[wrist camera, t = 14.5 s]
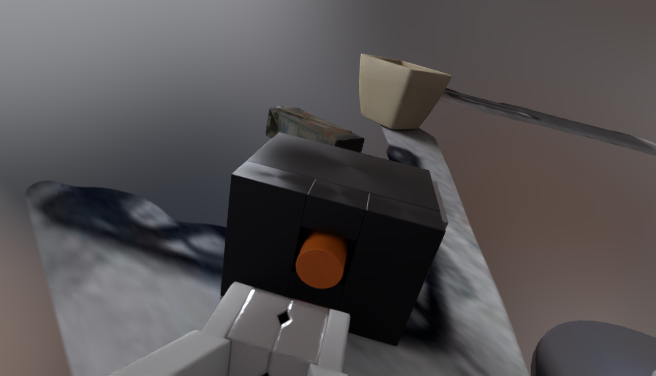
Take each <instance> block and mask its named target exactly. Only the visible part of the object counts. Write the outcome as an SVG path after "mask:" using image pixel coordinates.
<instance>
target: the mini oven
mask: <svg viewBox="0 0 656 376" xmlns="http://www.w3.org/2000/svg"><path fill="white" fill-rule="evenodd" d="M447 225H448V220H447V216H446V213H445V210H444V206H443V203H442V200H441V196H440V193H439V190H438V186H437V183H436V182H434V181H432V179H431V175H430V172H429V170H425V169H421V168H418V167H414V166H410V165H406V164H402V163H398V162H394V161H390V160H386V159H382V158H378V157H374V156H371V155H366V154H363V153H359V152H355V151H351V150H347V149H343V148H339V147H335V146H331V145H328V144H324V143H320V142H316V141H312V140H308V139H304V138H300V137H296V136H292V135H288V134H285V133H281V132H279V133H278V134H277V135H275V136H274V137H273V138H272V139H271V140H270V141H269V142H268V143H266V144H265V145H264V146H263V147H262V148H261V149H260V150H258V151H257V152H256V153H255V154H254V155H253V156H252V157H251V158H250V159H248V160H247V161H246V162H245V163H244V164H243V165H241V166H240V167H239V168H238V169H237V170H236V171H235V172H234V173H232V176H231V186H230V196H229V208H228V218H227V229H226V240H225V250H224V261H223V272H222V283H221V294H220V295H221V296H224V295H225V293H226V292H227V290H228V289H229V287H230V286H231V285H232V284H233V283H234V282H238V283H241V284H245V285H248V286H251V287H256V288H259V289H262V290H265V291H269V292H272V293H275V294H278V295H281V296H285V297H288V298H291V299H296V300H300V301H303V302H307V303H311V304H314V305H318V306H322V307H325V308H329V310H330V309H333V310H337V311H340V312H344V313H348V314H349V315H350V323H349V330H348V332H349V333H352V334H356V335H359V336H363V337H366V338H369V339H373V340H376V341H380V342H383V343H387V344H390V345H394V346H397V345H398V342H399V340H400V338H401V335H402V333H403V331H404V328H405V326H406V324H407V321H408V319H409V316H410V314H411V312H412V309H413V307H414V305H415V302H416V300H417V298H418V295H419V293H420V291H421V288H422V286H423V284H424V281H425V279H426V277H427V274H428V272H429V270H430V267H431V265H432V262H433V260H434V258H435V255H436V253H437V251H438V248H439V246H440V244H441V241H442V239H443V237H444V234H445V232H446V231H445V229H446V227H447ZM313 229H314V230H317V231H321V232H325V233H328V234H332V235H336V236H339V237H343V238H346V240H347V243H348V252H347V257H346V262H345V267H344V272H343V276H342V278H341V280H340V281H339V282H338V283H337V284H336V285H335V286H333V287H330V288H325V289H320V288H315V287H312V286H310V285H308V284H306V283H305V282H304V281H302V280H301V278H300V277H299V276H298V274H297V271H296V261H297V258H298V256H299V253H300V251H301V249H302V246H303V244H304V241H305V239H306V237H307V235H308V233H309V232H310V231H312V230H313Z"/></svg>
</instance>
